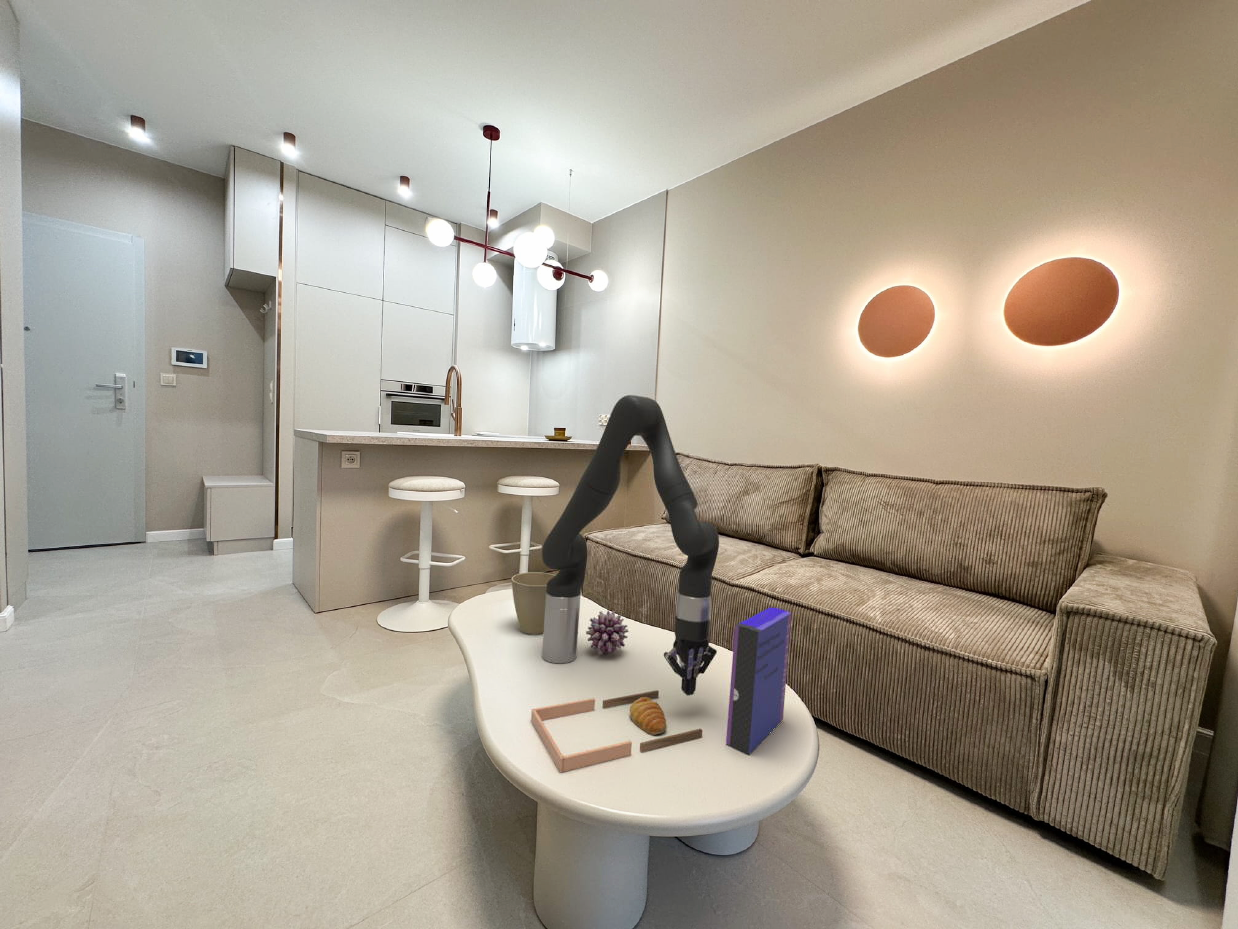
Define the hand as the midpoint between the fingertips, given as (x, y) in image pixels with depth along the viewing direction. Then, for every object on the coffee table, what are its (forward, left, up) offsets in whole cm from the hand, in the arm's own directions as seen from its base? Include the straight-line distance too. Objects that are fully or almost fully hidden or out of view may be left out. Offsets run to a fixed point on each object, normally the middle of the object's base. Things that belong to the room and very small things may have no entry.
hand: (688, 693), depth 107 cm
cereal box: (+11, +10, -5) cm, 15 cm away
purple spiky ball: (-34, -3, -5) cm, 35 cm away
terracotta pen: (0, -25, -5) cm, 26 cm away
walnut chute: (0, -9, -5) cm, 10 cm away
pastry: (-1, -9, -5) cm, 11 cm away
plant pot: (-56, -17, -5) cm, 59 cm away
